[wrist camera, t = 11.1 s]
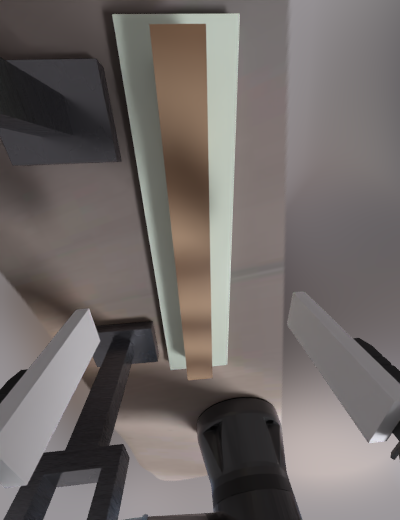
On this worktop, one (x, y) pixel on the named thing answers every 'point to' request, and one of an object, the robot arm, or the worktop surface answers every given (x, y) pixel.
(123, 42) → the board
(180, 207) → the rail
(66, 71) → the rack
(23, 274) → the worktop surface
